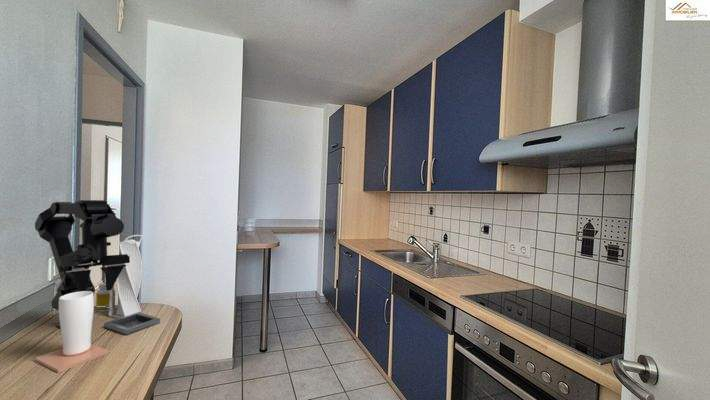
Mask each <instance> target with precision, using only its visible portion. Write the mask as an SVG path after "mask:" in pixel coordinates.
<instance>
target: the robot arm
mask: <svg viewBox="0 0 710 400" xmlns="http://www.w3.org/2000/svg"><path fill="white" fill-rule="evenodd" d="M63 214H64V215H63ZM56 215H59V216H56ZM60 215H61V216H60ZM62 215H63V216H62ZM66 215H68V216H66ZM116 215H117V213H115V211H113V209H112V208H111V206H110V204H109V203H108V201H106V200H105V199H80V200H77V201H75V202H72V201H55V202H52V203H51V205H50V206H49V207H48V208H47V209H46V210H44V211H42V212H40V213H39V215H38V216H37V219H36V220H35V223H34V229H35V230H36V231H37V233H38V234H39V238H41V239H42V240H44V241H46V242H48V243H49V246H50V249H51V252H52V256H53V260H54V262H55V265H56V267H57V271H58V274H59V278H60V282H59V284H58V286H57V288H56V294H55V295H54V296H53V299H51V307H52V309H54V310H57V311H59V298H60V297H61V296H63V295H66V294H70V293H74V292H81V291H92V292H93V295H94V296H95V293H96V288H95V286H94V283H93V282H92V278H91V271H92V270H91V269H89V268H90V267H97V266H98V267H99V266H103V267H100V270H101V271H102V272H103V273H104V277H105V279H104V281H105V283H106V289H107V291H109V290H111V289H112V287H113V286H114V287H115V284H116V280H117V278H118V276H119V274H120V273H121V271H122V269H123V268H124V267H125V266H126V265H124V264H125V263H130V257H129V256H128V255H127V254H122V255H119V254H113V255H111V254H109V255H108V247H109V246H111V244H112V243H111V242H110V241H108V238H111V237H114V236H118V235H121V233H123V231H124V228H125V224H124V223H123V220H121V219H120V218H119V217H117V216H116ZM75 218H77V219H80V220H81V221H83V222H81V223H80V225H79V228H81V242H82V243H81V244H78V245H77V248H76V250H73V246H72V243H71V242H70V238H69V235H70V233H71V232H72V229H73V225H74V223H75V222H76V219H75ZM54 327H56V328H59V329H61V327H60V322H58V323H55V324H54Z"/></svg>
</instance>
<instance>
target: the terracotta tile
mask: <svg viewBox="0 0 710 400" xmlns="http://www.w3.org/2000/svg"><path fill="white" fill-rule="evenodd" d="M108 354H109V350H108V349H105V348H103V347H100V346H97V345H95V344H92V343H91V347H90V348H89V349H88V350H87V351H85V352H83V353H81V354H77V355H72V356H66V355H64V354H63V348H60V349H57V350H54V351H51V352H48V353H45V354H42V355H39V356H36V357H35V358H34V361H35V362H36V363H39V364H41V365H43V366H45V367H46V368H48V369H51V370H52V371H54V372H55V373H59V374H60V373H62V372H64V371H67V370H70V369H72V368H74V367H76V366H80V365H82V364H85V363H87V362H90V361H92V360H94V359H97V358H100V357H102V356H104V355H108Z"/></svg>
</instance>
